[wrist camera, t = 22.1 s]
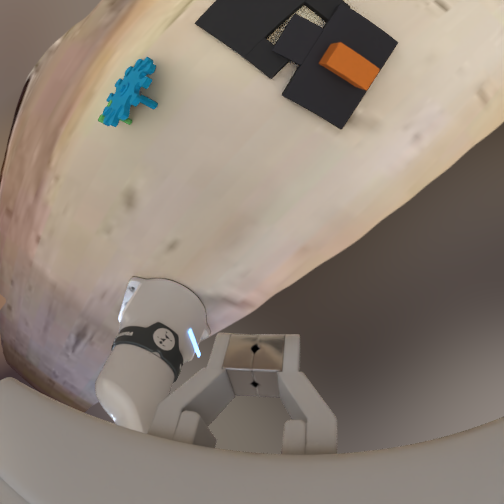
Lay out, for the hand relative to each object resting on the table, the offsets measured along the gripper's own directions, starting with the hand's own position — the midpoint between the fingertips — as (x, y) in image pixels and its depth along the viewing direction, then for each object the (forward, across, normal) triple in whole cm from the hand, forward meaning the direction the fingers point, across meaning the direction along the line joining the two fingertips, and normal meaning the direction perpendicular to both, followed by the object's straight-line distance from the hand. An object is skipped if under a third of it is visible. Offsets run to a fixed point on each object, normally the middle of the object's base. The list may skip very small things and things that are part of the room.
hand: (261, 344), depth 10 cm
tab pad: (+28, -6, -12) cm, 31 cm away
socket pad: (+29, 0, -19) cm, 35 cm away
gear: (+29, +18, -12) cm, 36 cm away
